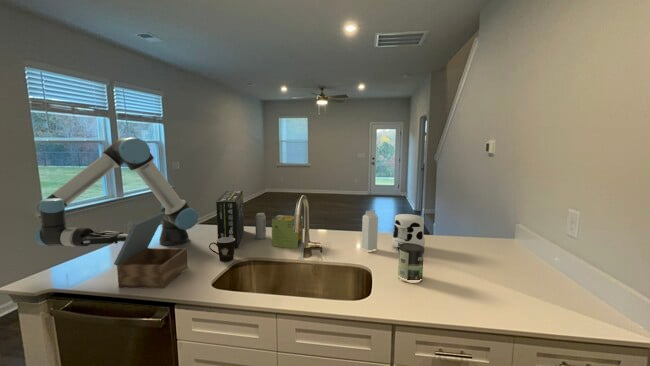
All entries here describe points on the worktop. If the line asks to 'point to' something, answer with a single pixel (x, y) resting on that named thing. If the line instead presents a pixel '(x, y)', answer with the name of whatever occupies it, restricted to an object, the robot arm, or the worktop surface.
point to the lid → (139, 237)
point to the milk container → (408, 230)
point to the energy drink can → (260, 225)
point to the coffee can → (411, 261)
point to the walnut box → (152, 268)
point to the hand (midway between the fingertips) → (135, 237)
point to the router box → (230, 216)
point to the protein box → (286, 232)
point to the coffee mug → (225, 248)
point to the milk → (369, 230)
